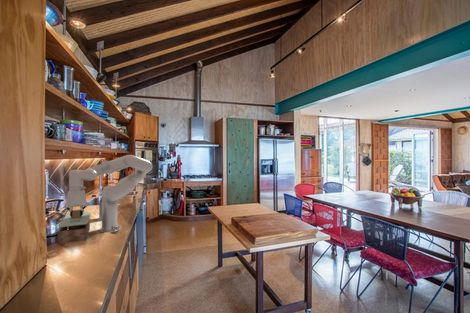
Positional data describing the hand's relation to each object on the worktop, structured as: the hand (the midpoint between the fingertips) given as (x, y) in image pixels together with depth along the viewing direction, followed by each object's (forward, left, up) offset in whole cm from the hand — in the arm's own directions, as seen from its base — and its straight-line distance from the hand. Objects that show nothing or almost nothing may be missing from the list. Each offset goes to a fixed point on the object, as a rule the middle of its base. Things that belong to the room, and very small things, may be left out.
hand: (76, 216), depth 151 cm
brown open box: (0, +1, -13) cm, 13 cm away
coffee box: (+12, -40, -13) cm, 44 cm away
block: (+11, -15, -13) cm, 22 cm away
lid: (0, 0, -2) cm, 2 cm away
